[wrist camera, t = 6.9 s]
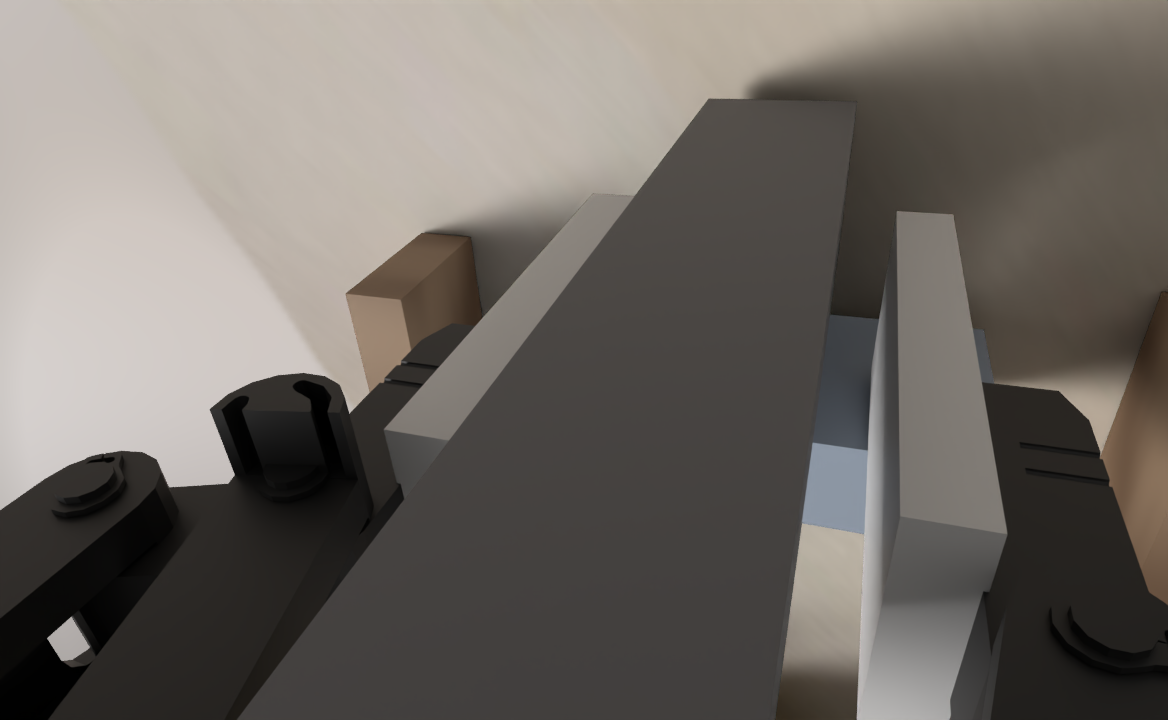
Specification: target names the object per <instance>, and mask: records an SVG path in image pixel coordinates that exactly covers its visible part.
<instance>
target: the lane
mask: <svg viewBox="0 0 1168 720" xmlns="http://www.w3.org/2000/svg"><path fill="white" fill-rule="evenodd" d="M346 298H347V302H348V306H349V310H350V314H351V318H352V322H353V326H354V330H355V335H356V339H357V343H358V347H359V351H360V355H361V359H362V363H363V367H364V371H365V375H366V379H367V383H368V387H369V391H370V392H371V391H372V390H373V389H374V388H375V387H376V386H377V385H378V384H379V383H384V378H385V377H386V376H387V375H388V374H389V373H390V372H391V371H392V370H393V369H394V367H395V366H396V365H401V360H402V359H403V358H404V357H405V356H406V355H407V354H408V353H409V352H410V351H411V350H412V349H413V348H414V347H415V346H416V345H417V344H418V343H419V342H420V341H421V340H422V339H424V338H426V337H428V336H429V335H431V334H433V333H435V332H437V331H439V330H441V329H442V328H444V327H446V326H448V325H450V324H452V323H455V324H463V325H472V326H476V325H477V324H478V323H479V321H480V320H481V319H482V312H481V305H480V298H479V291H478V285H477V278H476V271H475V264H474V257H473V250H472V243H471V237H465V236H452V235H440V234H427V233H421V234H420V235H418V236H417V237H416V238H415V239H413V240H412V241H411V242H410V243H408V244H407V245H406V246H405V247H403V248H402V249H401V250H400V251H398V252H397V253H396V254H395V255H393V256H392V257H391V258H390V259H388V260H387V261H386V262H385V263H383V264H382V265H381V266H380V267H378V268H377V269H376V270H375V271H373V272H372V273H371V274H370V275H368V276H367V277H366V278H365V279H363V280H362V281H361V282H360V283H358V284H357V285H356V286H355V287H353V288H352V289H351V290H350V291H348V292H347V293H346ZM1100 459H1103V461H1104V464H1105V467H1106V470H1107V473H1108V476H1109V479H1110V482H1109V487H1113V490H1114V493H1115V496H1116V499H1117V502H1118V505H1119V507H1120V510H1121V513H1122V516H1123V519H1124V522H1125V525H1126V527H1127V530H1128V533H1129V536H1130V539H1131V542H1132V545H1133V548H1134V550H1135V553H1136V556H1137V559H1138V562H1139V565H1140V568H1141V570H1142V573H1143V576H1144V579H1145V582H1146V585H1147V588H1148V591H1149V592H1150V593H1151V594H1153V595H1154V596H1155V597H1157V598H1158V599H1160V600H1161V601H1163V602H1164V603H1166V604H1167V605H1168V292H1162V293H1161V295H1160V298H1159V301H1158V304H1157V306H1156V309H1155V312H1154V314H1153V317H1152V320H1151V322H1150V325H1149V328H1148V330H1147V333H1146V336H1145V339H1144V341H1143V344H1142V347H1141V349H1140V352H1139V355H1138V357H1137V360H1136V363H1135V365H1134V368H1133V371H1132V373H1131V376H1130V379H1129V382H1128V384H1127V387H1126V390H1125V392H1124V395H1123V398H1122V400H1121V403H1120V406H1119V408H1118V411H1117V414H1116V417H1115V419H1114V422H1113V425H1112V427H1111V430H1110V433H1109V435H1108V438H1107V441H1106V443H1105V446H1104V449H1103V451H1102V454H1101V457H1100ZM950 720H951V716H950Z"/></svg>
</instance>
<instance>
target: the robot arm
mask: <svg viewBox="0 0 1168 720" xmlns="http://www.w3.org/2000/svg"><path fill="white" fill-rule="evenodd" d="M633 198H634V196H627V195H610V194H592V195H591V196H590V197H589V199H588V200H587V201H586V202H585V203H584V204H583V205H582V206H581V208H580V209H579V210H578V211H577V212H576V213H575V214H574V215H573V217H572V218H571V219H570V220H569V221H568V222H567V223H566V224H565V226H564V227H563V228H562V229H561V230H560V231H559V232H558V233H557V235H556V236H555V237H554V238H553V239H552V240H551V241H550V243H549V244H548V245H547V246H546V247H545V248H544V249H543V250H542V252H541V253H540V254H539V255H538V256H537V257H536V258H535V259H534V261H533V262H532V263H531V264H530V265H529V266H528V267H527V268H526V270H525V271H524V272H523V273H522V274H521V275H520V276H519V277H518V279H517V280H516V281H515V282H514V283H513V284H512V285H511V287H510V288H509V289H508V290H507V291H506V292H505V293H504V294H503V296H502V297H501V298H500V299H499V300H498V301H497V302H496V303H495V305H494V306H493V307H492V308H491V309H490V310H489V311H488V312H487V314H486V315H485V316H484V317H483V318H482V319H481V320H480V321H479V323H478V324H477V325H476V326H472V325H463V324H455V323H452V324H450V325H448V326H446V327H444V328H442V329H441V330H439V331H437V332H435V333H433V334H431V335H429V336H428V337H426V338H424V339H422V340H421V341H420V342H419V343H418V344H417V345H416V346H415V347H414V348H413V349H412V350H411V351H410V352H409V353H408V354H407V355H406V356H405V357H404V358H403V359H402V360H401V365H396V366H395V367H394V369H393V370H392V371H391V372H390V373H389V374H388V375H387V376H386V377H385V378H384V383H379V384H378V385H377V386H376V387H375V388H374V389H373V390H372V391H371V392H370V393H369V394H368V395H367V396H366V397H365V398H364V399H363V400H362V401H361V402H360V403H359V404H358V406H357V407H356V408H355V409H354V410H353V411H352V412H351V413H350V414H349V411H348V408H347V404H346V400H345V397H344V394H343V392H342V390H341V387H340V385H339V384H337V383H336V382H334V381H332V380H330V379H329V378H327V377H325V376H319V375H313V374H306V373H300V374H288V375H278V376H274V377H271V378H267V379H263V380H260V381H256V382H253V383H250V384H248V385H246V386H244V387H242V388H240V389H238V390H236V391H234V392H232V393H230V394H228V395H227V396H225V397H224V398H223V399H222V400H220V401H219V402H218V403H217V404H216V405H214V406H213V407H212V408H211V409H210V411H211V414H212V416H213V419H214V422H215V424H216V427H217V429H218V432H219V434H220V437H221V440H222V442H223V445H224V447H225V450H226V453H227V455H228V458H229V460H230V463H231V465H232V468H233V471H234V473H235V476H234V477H233V479H232V480H231V481H230V482H229V484H218V485H203V486H187V487H171V488H169V486H168V484H167V482H166V480H165V478H164V475H163V473H162V471H161V469H160V466H159V464H158V462H157V460H156V459H154V458H153V457H151V456H149V455H147V454H145V453H143V452H130V451H118V452H113V453H106V454H99V455H95V456H91V457H88V458H86V459H85V460H82V461H80V462H77V463H74V464H71V465H69V466H67V467H65V468H63V469H62V470H60V471H58V472H56V473H55V474H53V475H51V476H49V477H48V478H46V479H44V480H43V481H42V482H40V483H39V484H37V485H36V486H34V487H33V488H32V489H30V490H29V491H27V492H26V493H24V494H23V495H21V496H20V497H19V498H17V499H16V500H15V501H13V502H11V503H10V504H9V505H7V506H6V507H4V508H3V509H2V510H0V720H237V719H238V717H239V716H240V715H241V713H242V712H243V711H244V710H245V708H246V707H247V706H248V704H249V703H250V702H251V700H252V699H253V698H254V696H255V695H256V694H257V692H258V691H259V690H260V688H261V687H262V686H263V685H264V683H265V682H266V681H267V679H268V678H269V677H270V675H271V674H272V673H273V671H274V670H275V669H276V667H277V666H278V665H279V663H280V662H281V661H282V660H283V658H284V657H285V656H286V654H287V653H288V652H289V650H290V649H291V648H292V646H293V645H294V644H295V642H296V641H297V640H298V638H299V637H300V636H301V635H302V633H303V632H304V631H305V629H306V628H307V627H308V625H309V624H310V623H311V621H312V620H313V619H314V617H315V616H316V615H317V613H318V612H319V611H320V610H321V608H322V607H323V606H324V604H325V603H326V602H327V600H328V599H329V598H330V596H331V595H332V594H333V592H334V591H335V590H336V588H337V587H338V586H339V585H340V583H341V582H342V581H343V579H344V578H345V577H346V575H347V574H348V573H349V571H350V570H351V569H352V567H353V566H354V565H355V563H356V562H357V561H358V560H359V558H360V557H361V556H362V554H363V553H364V552H365V550H366V549H367V548H368V546H369V545H370V544H371V542H372V541H373V540H374V538H375V537H376V536H377V535H378V533H379V532H380V531H381V529H382V528H383V527H384V525H385V524H386V523H387V521H388V520H389V519H390V517H391V516H392V515H393V514H394V512H395V511H396V510H397V508H398V507H399V506H400V504H401V503H402V502H403V500H404V499H405V498H406V496H407V495H408V494H409V492H410V491H411V490H412V489H413V487H414V486H415V485H416V483H417V482H418V481H419V479H420V478H421V477H422V475H423V474H424V473H425V471H426V470H427V469H428V467H429V466H430V465H431V464H432V462H433V461H434V460H435V458H436V457H437V456H438V454H439V453H440V452H441V450H442V449H443V448H444V446H445V445H446V444H447V442H448V441H449V440H450V439H451V437H452V436H453V435H454V433H455V432H456V431H457V429H458V428H459V427H460V425H461V424H462V423H463V421H464V420H465V419H466V417H467V416H468V415H469V414H470V412H471V411H472V410H473V408H474V407H475V406H476V404H477V403H478V402H479V400H480V399H481V398H482V396H483V395H484V394H485V392H486V391H487V390H488V389H489V387H490V386H491V385H492V383H493V382H494V381H495V379H496V378H497V377H498V375H499V374H500V373H501V371H502V370H503V369H504V367H505V366H506V365H507V364H508V362H509V361H510V360H511V358H512V357H513V356H514V354H515V353H516V352H517V350H518V349H519V348H520V346H521V345H522V344H523V342H524V341H525V340H526V339H527V337H528V336H529V335H530V333H531V332H532V331H533V329H534V328H535V327H536V325H537V324H538V323H539V321H540V320H541V319H542V318H543V316H544V315H545V314H546V312H547V311H548V310H549V308H550V307H551V306H552V304H553V303H554V302H555V300H556V299H557V298H558V296H559V295H560V294H561V293H562V291H563V290H564V289H565V287H566V286H567V285H568V283H569V282H570V281H571V279H572V278H573V277H574V275H575V274H576V273H577V271H578V270H579V269H580V268H581V266H582V265H583V264H584V262H585V261H586V260H587V258H588V257H589V256H590V254H591V253H592V252H593V250H594V249H595V248H596V246H597V245H598V244H599V243H600V241H601V240H602V239H603V237H604V236H605V235H606V233H607V232H608V231H609V229H610V228H611V227H612V225H613V224H614V223H615V221H616V220H617V219H618V218H619V216H620V215H621V214H622V212H623V211H624V210H625V208H626V207H627V206H628V204H629V203H630V202H631V200H632V199H633ZM1109 482H1110V479H1109V476H1108V473H1107V470H1106V467H1105V464H1104V461H1103V459H1100V450H1099V447H1098V444H1097V441H1096V439H1095V436H1094V433H1093V430H1092V427H1091V424H1090V421H1089V420H1088V419H1087V418H1086V417H1085V416H1084V415H1083V414H1082V413H1081V412H1080V411H1079V410H1078V409H1077V408H1076V407H1075V406H1074V405H1072V404H1071V403H1070V402H1069V401H1068V400H1067V399H1066V398H1065V397H1064V396H1063V395H1062V394H1061V393H1060V392H1059V391H1053V390H1045V389H1036V388H1027V387H1019V386H1010V385H1002V384H993V383H984V382H982V381H981V375H980V369H979V363H978V357H977V352H976V346H975V340H974V334H973V328H972V322H971V316H970V310H969V304H968V299H967V293H966V287H965V281H964V275H963V269H962V263H961V257H960V251H959V246H958V240H957V234H956V228H955V222H954V216H953V214H937V213H920V212H903V211H897V212H896V218H895V224H894V230H893V237H892V243H891V249H890V255H889V261H888V268H887V274H886V280H885V286H884V292H883V299H882V305H881V311H880V317H879V324H878V330H877V336H876V342H875V348H874V355H873V361H872V367H871V386H870V411H869V435H868V459H867V484H866V508H865V532H864V556H863V581H862V605H861V629H860V654H859V678H858V702H857V720H950V716H951V720H1168V605H1167V604H1166V603H1164V602H1163V601H1161V600H1160V599H1158V598H1157V597H1155V596H1154V595H1153V594H1151V593H1150V592H1149V591H1148V588H1147V585H1146V582H1145V579H1144V576H1143V573H1142V570H1141V568H1140V565H1139V562H1138V559H1137V556H1136V553H1135V550H1134V548H1133V545H1132V542H1131V539H1130V536H1129V533H1128V530H1127V527H1126V525H1125V522H1124V519H1123V516H1122V513H1121V510H1120V507H1119V505H1118V502H1117V499H1116V496H1115V493H1114V490H1113V487H1109ZM70 617H72V618H73V620H74V622H75V623H76V625H77V627H78V628H79V630H80V631H81V633H82V635H83V636H84V638H85V640H86V641H87V643H88V645H89V646H90V648H89V649H88V650H87V651H85V652H84V653H82V654H81V655H79V656H78V657H76V658H75V659H73V660H68V661H61V660H60V658H59V657H58V655H57V653H56V652H55V650H54V649H53V647H52V646H51V644H50V643H49V641H48V640H47V638H48V637H49V636H50V635H51V634H52V633H53V632H54V631H55V630H57V629H58V628H59V627H60V626H61V625H62V624H63V623H64V622H66V621H67V620H68V619H69V618H70Z"/></svg>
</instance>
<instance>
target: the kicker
mask: <svg viewBox="0 0 1168 720" xmlns="http://www.w3.org/2000/svg"><path fill="white" fill-rule="evenodd" d="M856 108H857V101H806V100H753V99H708V100H707V102H706V103H705V104H704V106H703V107H702V108H701V110H700V111H699V112H698V114H697V115H696V116H695V118H694V119H693V120H692V122H691V123H690V124H689V125H688V127H687V128H686V129H685V131H684V132H683V133H682V135H681V136H680V137H679V139H678V140H677V141H676V143H675V144H674V145H673V146H672V148H671V149H670V150H669V152H668V153H667V154H666V156H665V157H664V158H663V160H662V161H661V162H660V164H659V165H658V166H657V168H656V169H655V170H654V171H653V173H652V174H651V175H650V177H649V178H648V179H647V181H646V182H645V183H644V185H643V186H642V187H641V189H640V190H639V191H638V193H637V194H636V195H635V196H634V198H633V199H632V200H631V202H630V203H629V204H628V206H627V207H626V208H625V210H624V211H623V212H622V214H621V215H620V216H619V218H618V219H617V220H616V221H615V223H614V224H613V225H612V227H611V228H610V229H609V231H608V232H607V233H606V235H605V236H604V237H603V239H602V240H601V241H600V243H599V244H598V245H597V246H596V248H595V249H594V250H593V252H592V253H591V254H590V256H589V257H588V258H587V260H586V261H585V262H584V264H583V265H582V266H581V268H580V269H579V270H578V271H577V273H576V274H575V275H574V277H573V278H572V279H571V281H570V282H569V283H568V285H567V286H566V287H565V289H564V290H563V291H562V293H561V294H560V295H559V296H558V298H557V299H556V300H555V302H554V303H553V304H552V306H551V307H550V308H549V310H548V311H547V312H546V314H545V315H544V316H543V318H542V319H541V320H540V321H539V323H538V324H537V325H536V327H535V328H534V329H533V331H532V332H531V333H530V335H529V336H528V337H527V339H526V340H525V341H524V342H523V344H522V345H521V346H520V348H519V349H518V350H517V352H516V353H515V354H514V356H513V357H512V358H511V360H510V361H509V362H508V364H507V365H506V366H505V367H504V369H503V370H502V371H501V373H500V374H499V375H498V377H497V378H496V379H495V381H494V382H493V383H492V385H491V386H490V387H489V389H488V390H487V391H486V392H485V394H484V395H483V396H482V398H481V399H480V400H479V402H478V403H477V404H476V406H475V407H474V408H473V410H472V411H471V412H470V414H469V415H468V416H467V417H466V419H465V420H464V421H463V423H462V424H461V425H460V427H459V428H458V429H457V431H456V432H455V433H454V435H453V436H452V437H451V439H450V440H449V441H448V442H447V444H446V445H445V446H444V448H443V449H442V450H441V452H440V453H439V454H438V456H437V457H436V458H435V460H434V461H433V462H432V464H431V465H430V466H429V467H428V469H427V470H426V471H425V473H424V474H423V475H422V477H421V478H420V479H419V481H418V482H417V483H416V485H415V486H414V487H413V489H412V490H411V491H410V492H409V494H408V495H407V496H406V498H405V499H404V500H403V502H402V503H401V504H400V506H399V507H398V508H397V510H396V511H395V512H394V514H393V515H392V516H391V517H390V519H389V520H388V521H387V523H386V524H385V525H384V527H383V528H382V529H381V531H380V532H379V533H378V535H377V536H376V537H375V538H374V540H373V541H372V542H371V544H370V545H369V546H368V548H367V549H366V550H365V552H364V553H363V554H362V556H361V557H360V558H359V560H358V561H357V562H356V563H355V565H354V566H353V567H352V569H351V570H350V571H349V573H348V574H347V575H346V577H345V578H344V579H343V581H342V582H341V583H340V585H339V586H338V587H337V588H336V590H335V591H334V592H333V594H332V595H331V596H330V598H329V599H328V600H327V602H326V603H325V604H324V606H323V607H322V608H321V610H320V611H319V612H318V613H317V615H316V616H315V617H314V619H313V620H312V621H311V623H310V624H309V625H308V627H307V628H306V629H305V631H304V632H303V633H302V635H301V636H300V637H299V638H298V640H297V641H296V642H295V644H294V645H293V646H292V648H291V649H290V650H289V652H288V653H287V654H286V656H285V657H284V658H283V660H282V661H281V662H280V663H279V665H278V666H277V667H276V669H275V670H274V671H273V673H272V674H271V675H270V677H269V678H268V679H267V681H266V682H265V683H264V685H263V686H262V687H261V688H260V690H259V691H258V692H257V694H256V695H255V696H254V698H253V699H252V700H251V702H250V703H249V704H248V706H247V707H246V708H245V710H244V711H243V712H242V713H241V715H240V716H239V717H238V719H237V720H775V717H776V710H777V702H778V695H779V688H780V680H781V673H782V666H783V658H784V651H785V643H786V636H787V629H788V621H789V614H790V607H791V599H792V592H793V584H794V577H795V570H796V562H797V555H798V548H799V540H800V533H801V525H802V523H804V524H809V525H815V526H821V527H826V528H832V529H838V530H843V531H849V532H855V533H860V534H864V532H865V508H866V484H867V459H868V435H869V411H870V386H871V367H872V361H873V355H874V348H875V342H876V336H877V330H878V324H879V319H871V318H861V317H850V316H840V315H830V312H831V304H832V297H833V289H834V282H835V275H836V267H837V260H838V253H839V245H840V238H841V229H842V221H843V213H844V205H845V197H846V189H847V181H848V173H849V165H850V156H851V148H852V140H853V132H854V124H855V116H856ZM973 334H974V340H975V346H976V352H977V357H978V363H979V369H980V375H981V381H982V382H984V383H993V384H994V379H993V374H992V369H991V364H990V359H989V354H988V349H987V343H986V338H985V333H984V329H973Z"/></svg>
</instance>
